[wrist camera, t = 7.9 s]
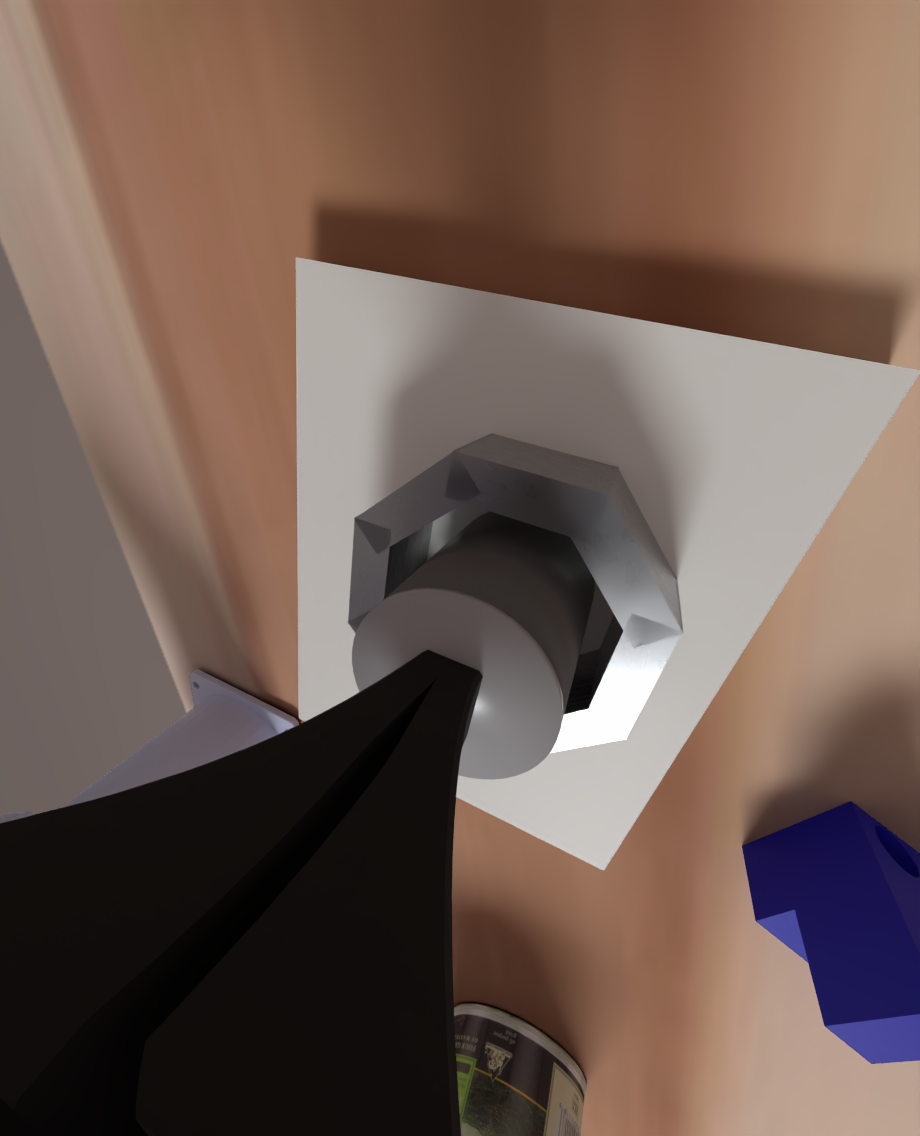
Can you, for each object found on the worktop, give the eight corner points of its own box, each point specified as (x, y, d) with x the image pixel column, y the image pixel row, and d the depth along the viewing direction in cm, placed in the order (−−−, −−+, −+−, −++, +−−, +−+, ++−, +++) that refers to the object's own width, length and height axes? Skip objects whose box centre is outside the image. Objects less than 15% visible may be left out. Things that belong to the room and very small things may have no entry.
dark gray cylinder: (568, 663, 15) (527, 811, 10) (439, 613, 17) (346, 723, 12) (617, 535, 13) (595, 648, 8) (463, 488, 14) (358, 559, 9)
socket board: (607, 838, 20) (596, 949, 16) (317, 699, 24) (254, 762, 20) (888, 369, 10) (1024, 374, 7) (327, 266, 14) (211, 232, 11)
